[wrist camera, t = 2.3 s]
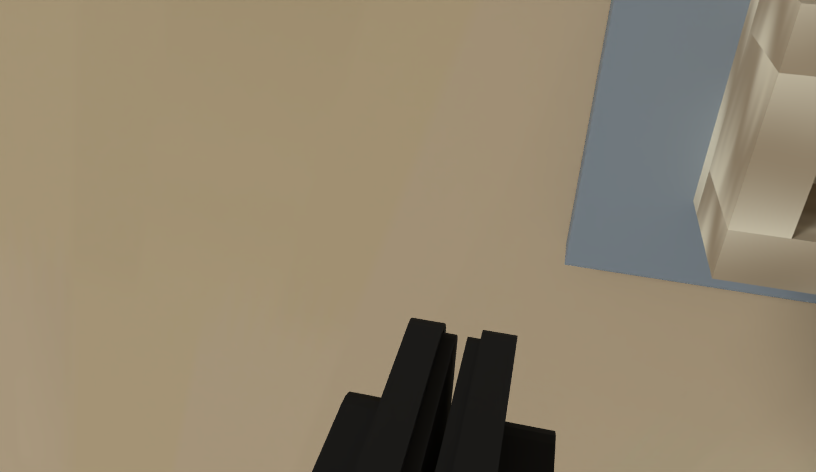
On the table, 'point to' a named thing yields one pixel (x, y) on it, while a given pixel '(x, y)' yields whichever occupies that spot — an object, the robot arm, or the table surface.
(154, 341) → the table surface
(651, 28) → the jig board
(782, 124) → the socket block
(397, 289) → the table surface
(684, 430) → the table surface
